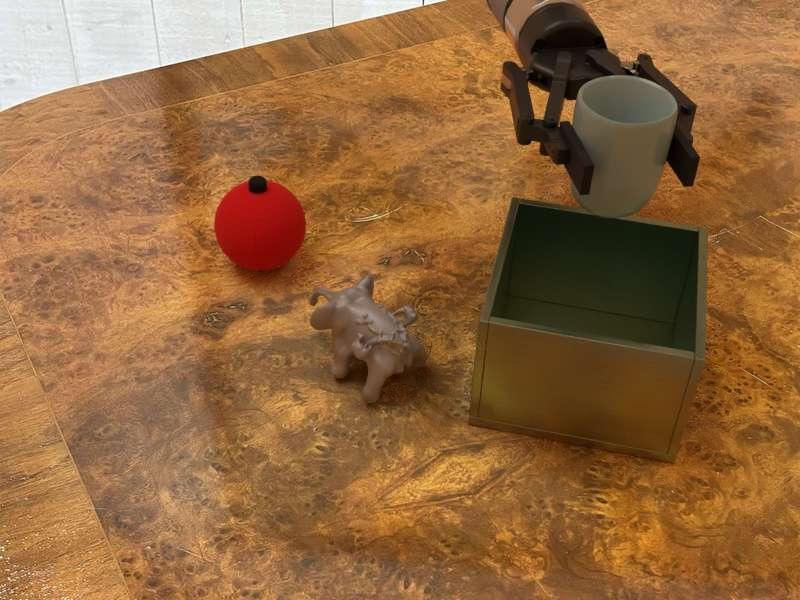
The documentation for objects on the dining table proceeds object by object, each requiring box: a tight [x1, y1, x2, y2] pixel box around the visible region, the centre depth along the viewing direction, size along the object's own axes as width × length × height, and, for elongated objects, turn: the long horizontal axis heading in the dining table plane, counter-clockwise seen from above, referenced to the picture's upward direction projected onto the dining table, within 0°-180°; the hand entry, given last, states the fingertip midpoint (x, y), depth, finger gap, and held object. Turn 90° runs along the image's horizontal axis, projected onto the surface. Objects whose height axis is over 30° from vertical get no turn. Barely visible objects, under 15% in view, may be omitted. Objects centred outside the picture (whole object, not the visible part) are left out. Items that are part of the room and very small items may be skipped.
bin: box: [467, 196, 709, 464], centre depth 93 cm, size 18×18×12 cm
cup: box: [566, 75, 678, 218], centre depth 87 cm, size 8×8×10 cm
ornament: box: [213, 175, 307, 272], centre depth 105 cm, size 9×9×10 cm
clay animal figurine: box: [308, 273, 428, 404], centre depth 95 cm, size 9×12×8 cm
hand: (640, 176), depth 82 cm, fingers closed on cup, 8 cm apart
